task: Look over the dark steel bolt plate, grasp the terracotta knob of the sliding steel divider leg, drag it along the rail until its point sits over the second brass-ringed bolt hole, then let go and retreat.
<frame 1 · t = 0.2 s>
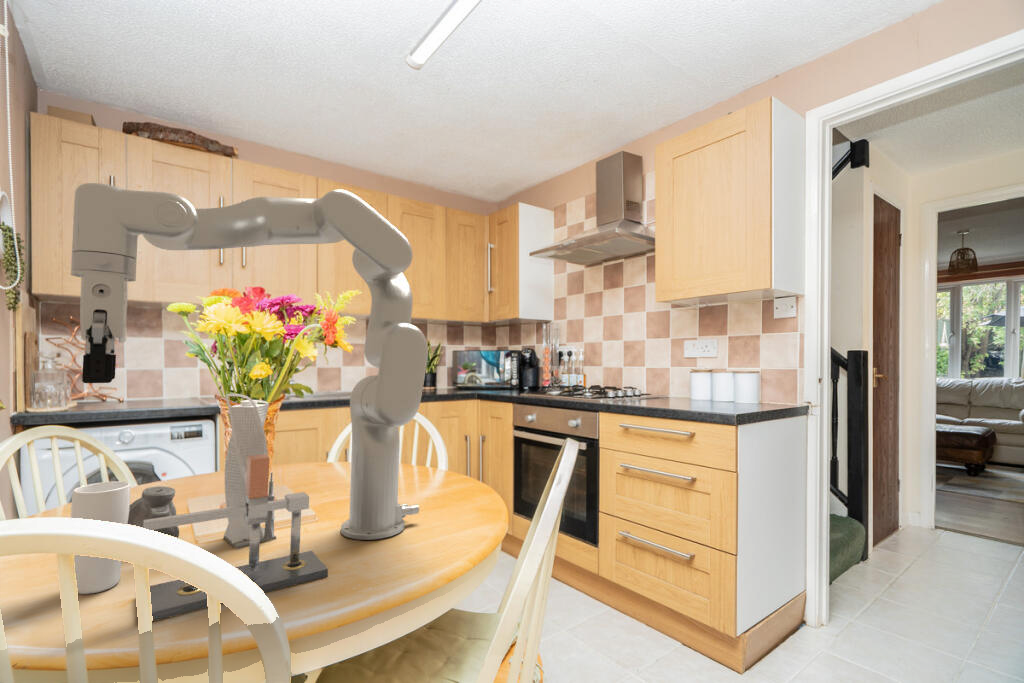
hand: (99, 381, 72), 31 cm above the table, fingers open, 9 cm apart
bolt plate: (238, 586, 73), on the table
sliding leg: (256, 502, 75), point 12 cm above the table, slide at 0.0 cm
grey cup: (97, 588, 72), on the table
divider frame: (294, 572, 78), resting on bolt plate
pipe fitting: (153, 546, 88), on the table
skyscraper: (244, 539, 92), on the table
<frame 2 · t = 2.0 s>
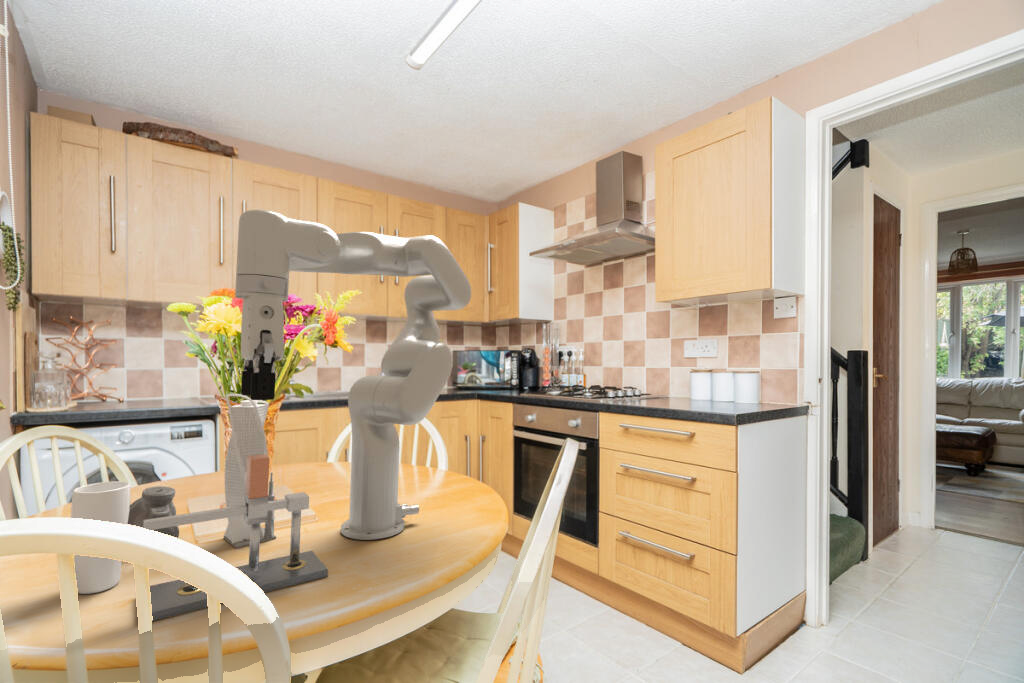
hand: (256, 397, 76), 29 cm above the table, fingers open, 9 cm apart
nothing on the table moved.
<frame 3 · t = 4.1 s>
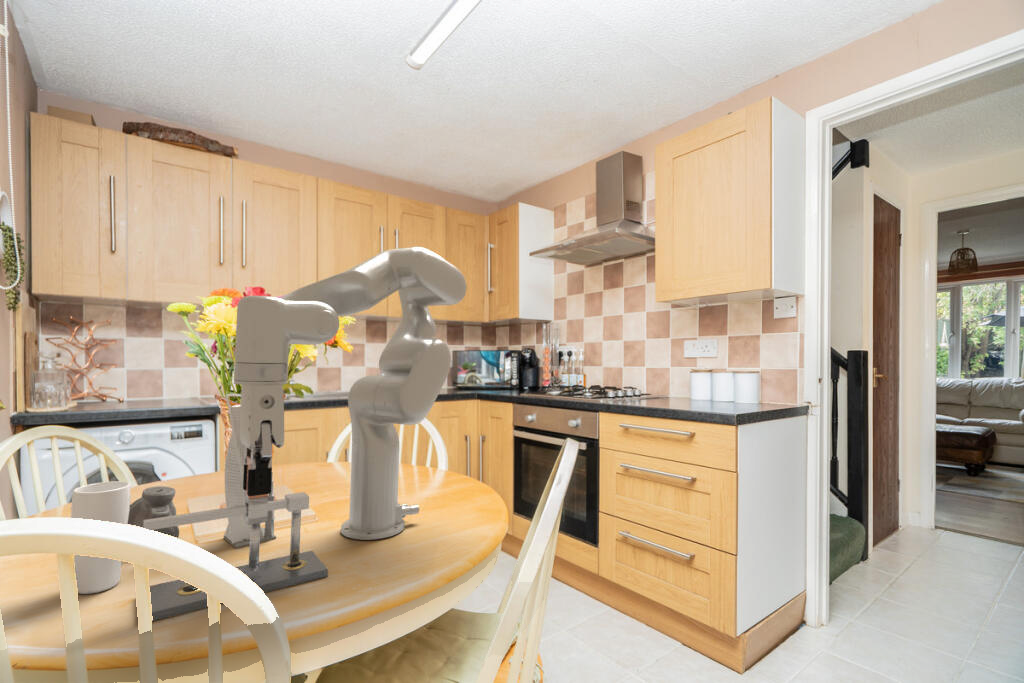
hand: (256, 490, 75), 14 cm above the table, fingers closed on sliding leg, 3 cm apart
sliding leg: (256, 502, 75), point 12 cm above the table, slide at 0.0 cm, touching gripper
everything else where it was.
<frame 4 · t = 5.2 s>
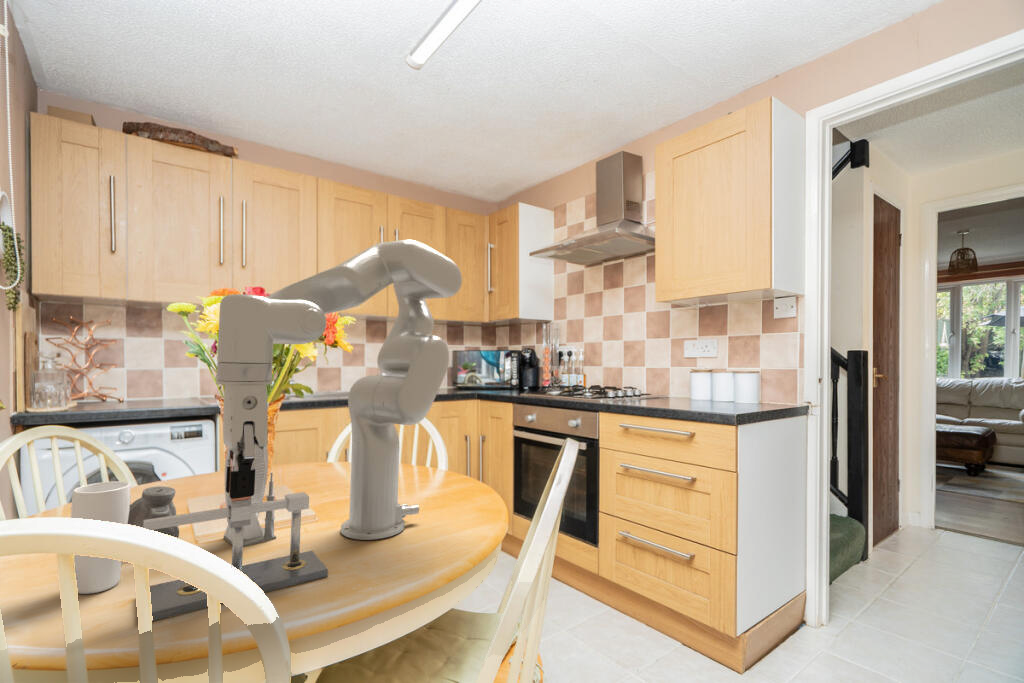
hand: (239, 492, 74), 14 cm above the table, fingers closed on sliding leg, 3 cm apart
sliding leg: (239, 504, 74), point 12 cm above the table, slide at 2.3 cm, touching gripper
everything else where it was.
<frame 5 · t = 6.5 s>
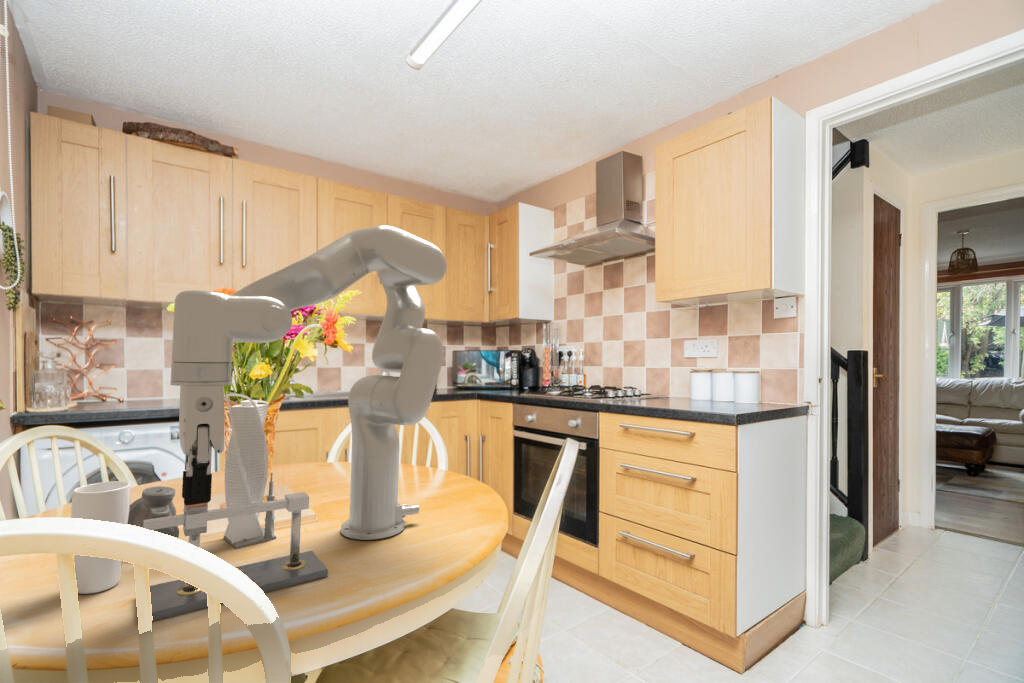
hand: (196, 498, 70), 14 cm above the table, fingers closed on sliding leg, 3 cm apart
sliding leg: (195, 511, 70), point 12 cm above the table, slide at 8.0 cm, touching gripper
everything else where it was.
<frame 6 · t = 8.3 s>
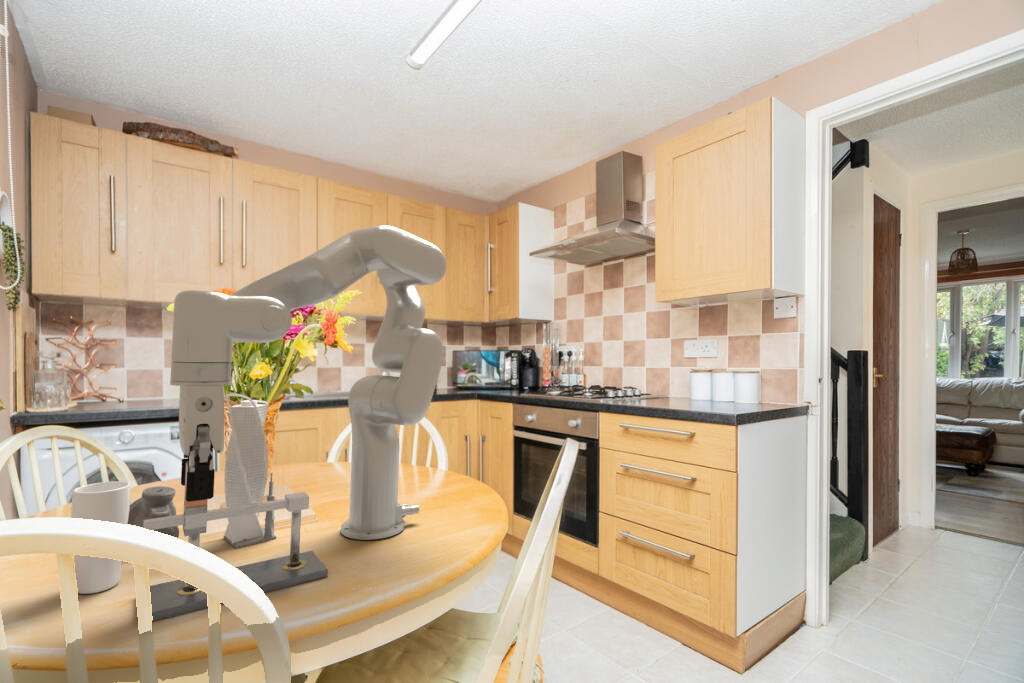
hand: (196, 491, 70), 15 cm above the table, fingers open, 9 cm apart
sliding leg: (195, 511, 70), point 12 cm above the table, slide at 8.0 cm
everything else where it was.
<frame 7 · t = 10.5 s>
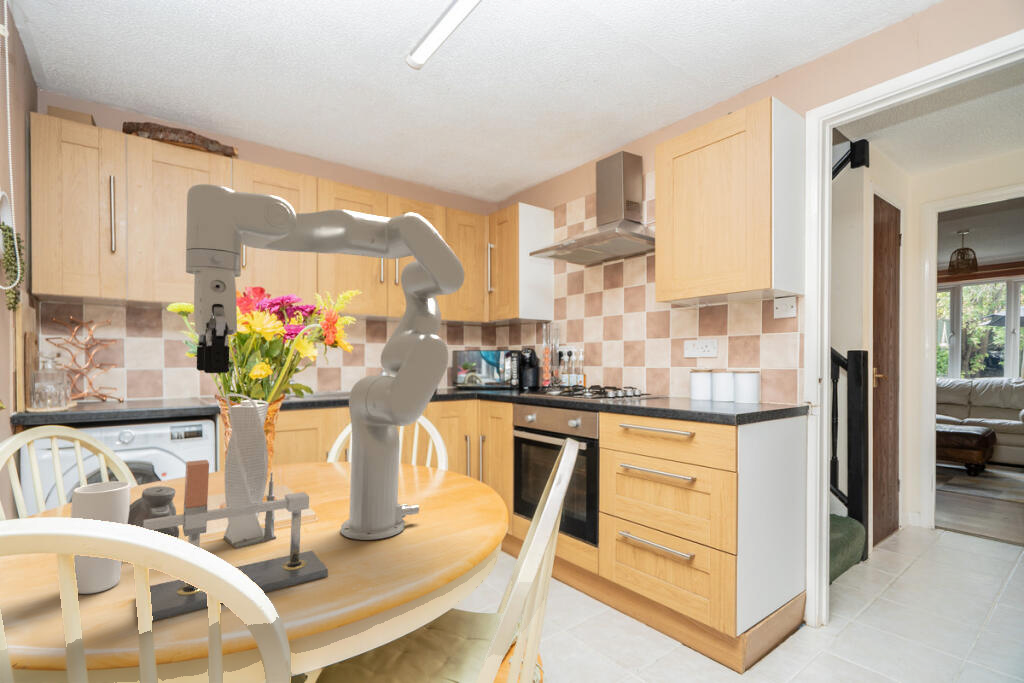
hand: (212, 371, 77), 33 cm above the table, fingers open, 9 cm apart
nothing on the table moved.
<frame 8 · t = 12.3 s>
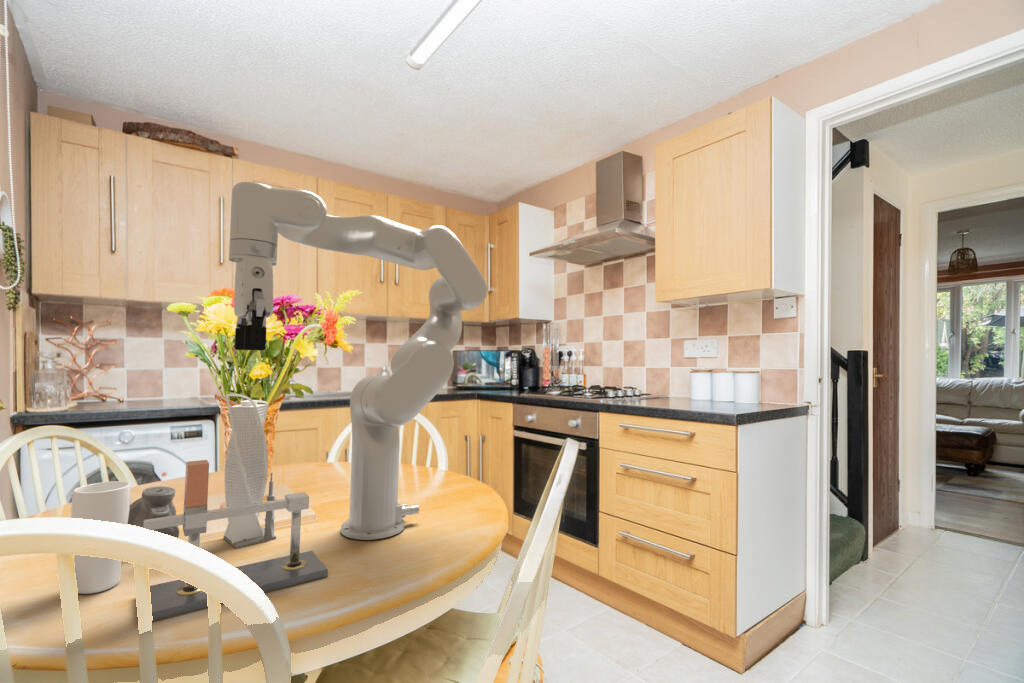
hand: (249, 349, 85), 36 cm above the table, fingers open, 9 cm apart
nothing on the table moved.
at the end: sliding leg slide at 8.0 cm; the gripper is holding nothing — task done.
